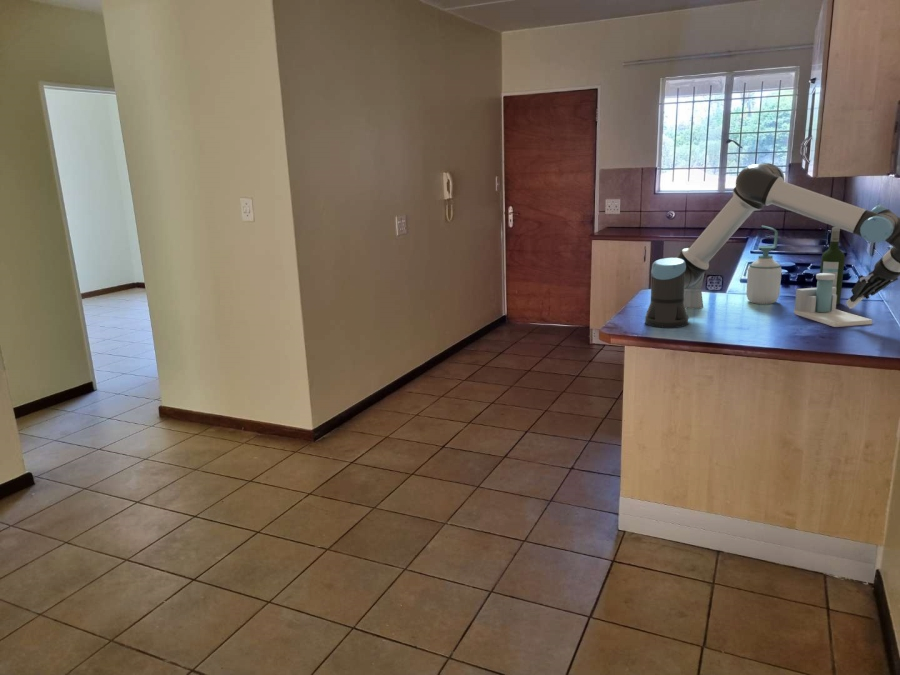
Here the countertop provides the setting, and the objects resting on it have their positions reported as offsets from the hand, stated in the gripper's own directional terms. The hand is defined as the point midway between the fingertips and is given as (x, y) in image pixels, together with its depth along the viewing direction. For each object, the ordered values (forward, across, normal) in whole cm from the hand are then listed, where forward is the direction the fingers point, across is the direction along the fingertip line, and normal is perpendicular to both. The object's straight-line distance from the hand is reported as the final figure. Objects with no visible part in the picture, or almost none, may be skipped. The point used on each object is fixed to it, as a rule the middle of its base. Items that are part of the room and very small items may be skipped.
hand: (849, 305), depth 225 cm
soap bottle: (+34, -6, +24) cm, 42 cm away
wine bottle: (+27, +16, +17) cm, 36 cm away
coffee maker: (+36, -34, +26) cm, 56 cm away
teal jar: (+13, 0, +6) cm, 14 cm away
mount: (+10, 0, 0) cm, 10 cm away
